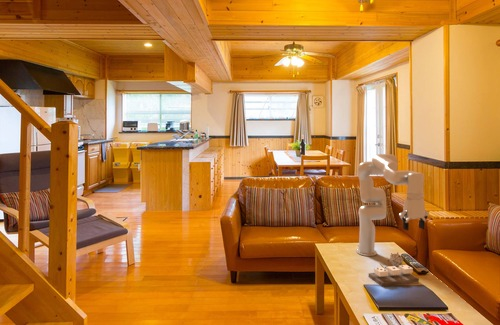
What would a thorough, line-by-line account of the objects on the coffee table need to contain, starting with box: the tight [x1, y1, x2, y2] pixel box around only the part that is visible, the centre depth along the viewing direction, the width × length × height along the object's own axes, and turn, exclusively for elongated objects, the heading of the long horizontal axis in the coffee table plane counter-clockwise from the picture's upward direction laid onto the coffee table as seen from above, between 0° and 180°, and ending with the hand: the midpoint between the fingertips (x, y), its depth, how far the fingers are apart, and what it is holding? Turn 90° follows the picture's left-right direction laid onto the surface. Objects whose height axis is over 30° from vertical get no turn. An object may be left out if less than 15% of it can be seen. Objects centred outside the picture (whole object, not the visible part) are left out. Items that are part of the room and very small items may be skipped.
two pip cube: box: [398, 264, 414, 274], centre depth 182 cm, size 5×5×3 cm
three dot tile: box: [373, 267, 388, 277], centre depth 178 cm, size 5×5×3 cm
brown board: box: [368, 272, 420, 288], centre depth 180 cm, size 12×22×2 cm, turn 104°
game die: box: [388, 252, 405, 268], centre depth 198 cm, size 9×8×10 cm
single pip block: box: [385, 265, 401, 275], centre depth 180 cm, size 5×5×3 cm
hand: (413, 229), depth 175 cm, fingers open, 9 cm apart
